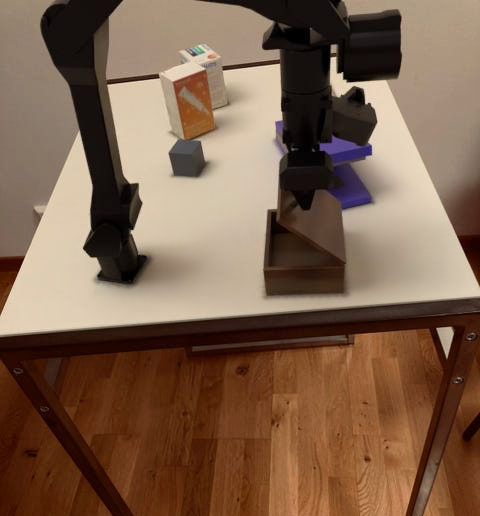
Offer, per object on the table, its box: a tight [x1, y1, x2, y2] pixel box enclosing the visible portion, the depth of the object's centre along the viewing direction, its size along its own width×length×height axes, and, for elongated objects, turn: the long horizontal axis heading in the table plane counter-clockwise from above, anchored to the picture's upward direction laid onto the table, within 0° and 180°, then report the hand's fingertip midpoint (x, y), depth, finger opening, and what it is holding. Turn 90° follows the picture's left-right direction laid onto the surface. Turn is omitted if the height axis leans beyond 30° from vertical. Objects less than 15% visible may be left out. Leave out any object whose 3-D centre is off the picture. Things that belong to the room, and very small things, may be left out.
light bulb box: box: [178, 43, 228, 110], centre depth 118 cm, size 11×7×11 cm, turn 25°
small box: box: [158, 61, 216, 140], centre depth 108 cm, size 8×6×13 cm
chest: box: [262, 208, 346, 296], centre depth 78 cm, size 11×14×5 cm
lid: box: [276, 160, 348, 266], centre depth 71 cm, size 12×14×5 cm
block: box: [167, 138, 206, 178], centre depth 101 cm, size 5×5×5 cm
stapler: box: [274, 119, 373, 210], centre depth 93 cm, size 12×28×10 cm, turn 12°
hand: (305, 196), depth 71 cm, fingers closed on lid, 6 cm apart
